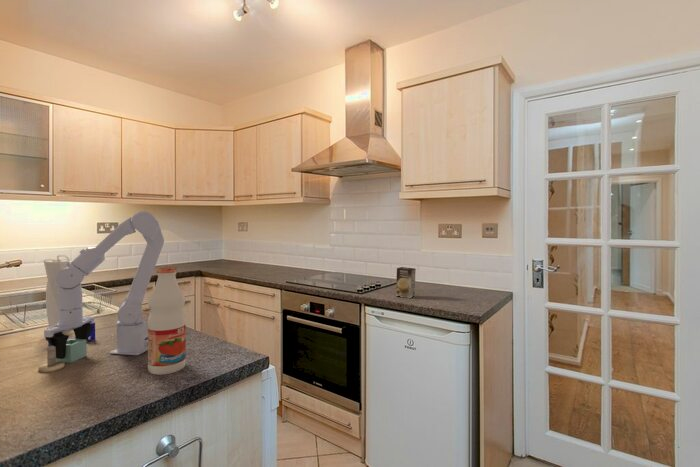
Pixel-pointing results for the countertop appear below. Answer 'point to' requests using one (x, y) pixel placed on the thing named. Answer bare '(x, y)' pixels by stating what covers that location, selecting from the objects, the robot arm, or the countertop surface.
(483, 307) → the countertop surface
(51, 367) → the spindle
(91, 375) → the countertop surface
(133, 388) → the countertop surface
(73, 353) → the green hollow cube
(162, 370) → the fruit juice
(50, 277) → the skyscraper
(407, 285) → the coffee box
